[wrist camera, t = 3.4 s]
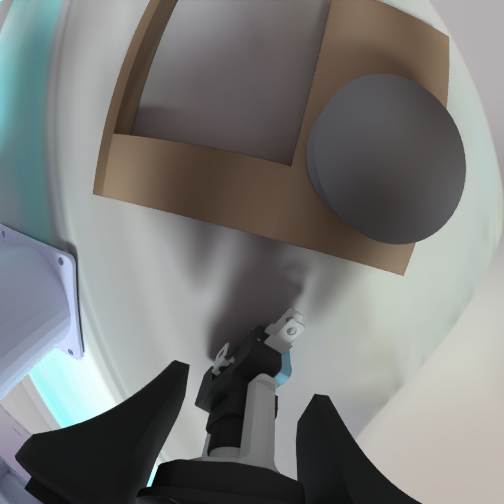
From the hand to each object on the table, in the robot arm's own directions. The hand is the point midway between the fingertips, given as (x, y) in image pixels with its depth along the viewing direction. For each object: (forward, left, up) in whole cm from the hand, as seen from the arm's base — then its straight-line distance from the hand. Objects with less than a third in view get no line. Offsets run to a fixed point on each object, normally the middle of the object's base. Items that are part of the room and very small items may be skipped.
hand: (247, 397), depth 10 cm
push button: (0, 0, -4) cm, 4 cm away
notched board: (-2, +12, -4) cm, 13 cm away
